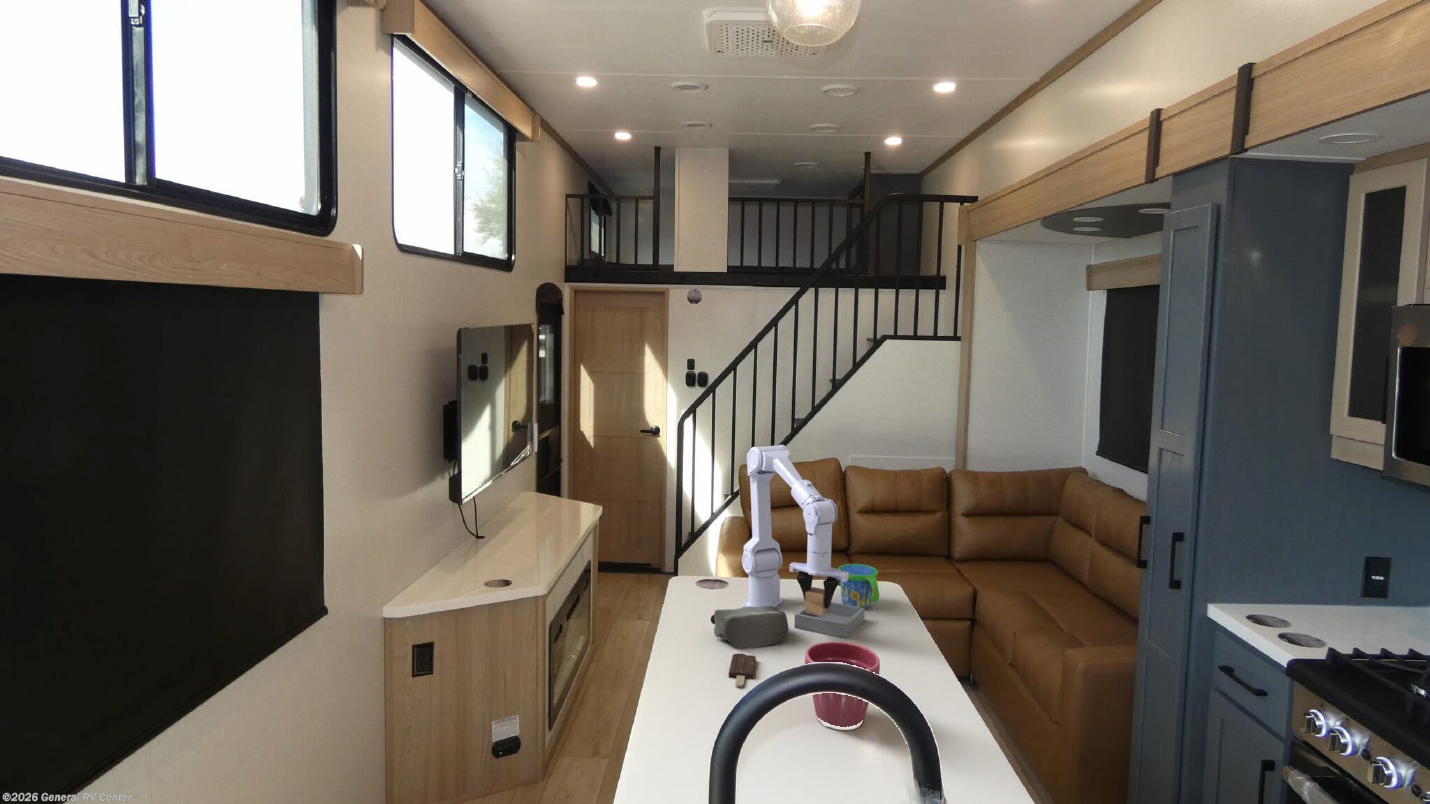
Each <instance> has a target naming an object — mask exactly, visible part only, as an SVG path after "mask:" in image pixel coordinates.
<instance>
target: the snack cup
mask: <svg viewBox="0 0 1430 804" xmlns="http://www.w3.org/2000/svg"><path fill="white" fill-rule="evenodd" d="M837 569H838V570H841V571H845V572H849V573H848V580H847V581H846V582H842V581H841V580H840V582H839V584H838V585H837V587H838V586H839V587H840V594H841V601H842V603H841V604H845V605H850V606H856V607H861V608H865V610H866V609H868V608H869V607H871V604H872V603H876V602H878V601H879V599H880V592H879V591H880V590H879V584H878V582H877V581H878V580H877V578H878V574H879V572H878V569H877V568H875V567H873V566H870V565H866V564H861V563H847V564H841V565H840V566H838V568H837Z"/></svg>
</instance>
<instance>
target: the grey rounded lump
mask: <svg viewBox="0 0 1430 804" xmlns="http://www.w3.org/2000/svg"><path fill="white" fill-rule="evenodd" d="M710 623H712V624H713V625H714V630H713V633H714V636H715V637H717V638H720V639H724V640H727V641H728V642H729V643H731V645H732V646H734V647H736V648H738V649H741V650H746V648H748V649H754V648H760V647H764V646H771V645H777V644H779V643H781V642H782V641H783V640H784V639H786V638H787V637H788V633H789V623H788V617H787V614H786V612H785V611H784V610H781V609H780V608H778V607H777V606H776V607H773V606H760V607H752V606H747V607H742V606H741V607H739V608H734V609H733V608H732V609H725V608H724V609H715V610H714V614H713V615H711V617H710Z"/></svg>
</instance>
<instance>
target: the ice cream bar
mask: <svg viewBox="0 0 1430 804" xmlns="http://www.w3.org/2000/svg"><path fill="white" fill-rule="evenodd" d="M756 661H757V656H756V655H748V654H746V653H734V654H732V657H731V662H730V664H729V665H730V666H729V669H728V670H729V671H728V678H729V679H736V680H735V687H736V688H743V687H744V686H745V685H744V684H745V680H754V675H755V668H756V664H757V663H756Z"/></svg>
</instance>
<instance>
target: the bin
mask: <svg viewBox="0 0 1430 804" xmlns="http://www.w3.org/2000/svg"><path fill="white" fill-rule="evenodd" d="M865 613H866V609H865V608H861V607H856V606H850V605H845V604H843V603H841V602H840V603H839V602H834V601H831V605H830V607H829V611H828V612H827V613H825V614H824V615H823V616H820V615H815V614H810V613H806V612H805V606H804V607H802V608H801V609H800V610H799V611H797V612H796V613H794V629H798V630H803V631H807V632H812V633H817V634H821V635H825V636H829V635H830V636H831V637H835V638H839V637H840V639H843V638H844V639H845V640H846V639H847V638H848V637H850V636H851V635H852V634H853V633H854V632H855V631H856V630H857V629H858V628H859V627H861V625H862V624H863V623H865V619H866V618H865V617H866V616H865ZM852 632H853V633H852ZM849 635H850V636H849ZM830 636H829V637H830Z"/></svg>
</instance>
